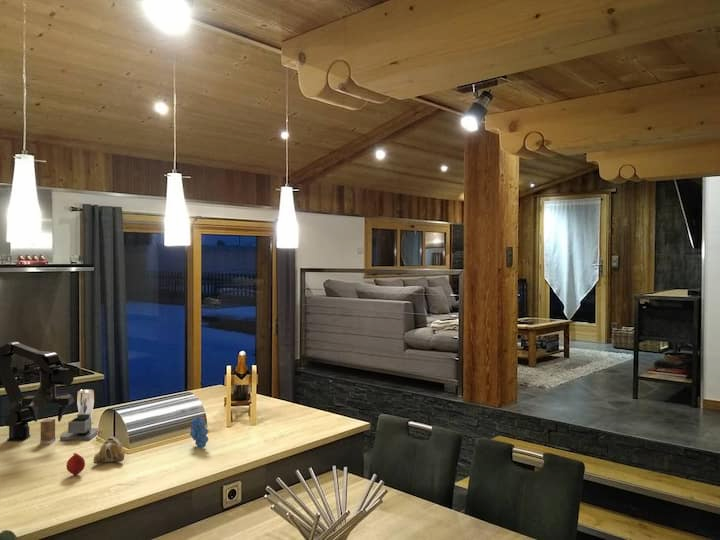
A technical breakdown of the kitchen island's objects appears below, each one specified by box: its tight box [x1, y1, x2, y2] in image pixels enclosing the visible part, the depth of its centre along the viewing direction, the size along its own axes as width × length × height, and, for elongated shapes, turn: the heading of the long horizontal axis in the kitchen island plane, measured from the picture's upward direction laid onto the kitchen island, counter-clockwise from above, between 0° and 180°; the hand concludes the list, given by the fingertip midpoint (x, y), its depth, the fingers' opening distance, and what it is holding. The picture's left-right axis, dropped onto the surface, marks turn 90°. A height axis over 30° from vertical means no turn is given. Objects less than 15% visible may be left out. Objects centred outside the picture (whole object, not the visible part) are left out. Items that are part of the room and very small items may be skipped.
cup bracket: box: [59, 412, 99, 441], centre depth 247 cm, size 12×12×8 cm
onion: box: [66, 452, 86, 476], centre depth 203 cm, size 6×6×8 cm
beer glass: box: [76, 389, 95, 425], centre depth 264 cm, size 7×7×15 cm
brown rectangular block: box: [39, 418, 56, 445], centre depth 238 cm, size 4×4×9 cm
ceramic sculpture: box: [93, 435, 125, 465], centre depth 218 cm, size 11×9×15 cm
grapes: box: [189, 416, 209, 448], centre depth 235 cm, size 12×7×12 cm, turn 44°
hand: (47, 421), depth 238 cm, fingers open, 9 cm apart
